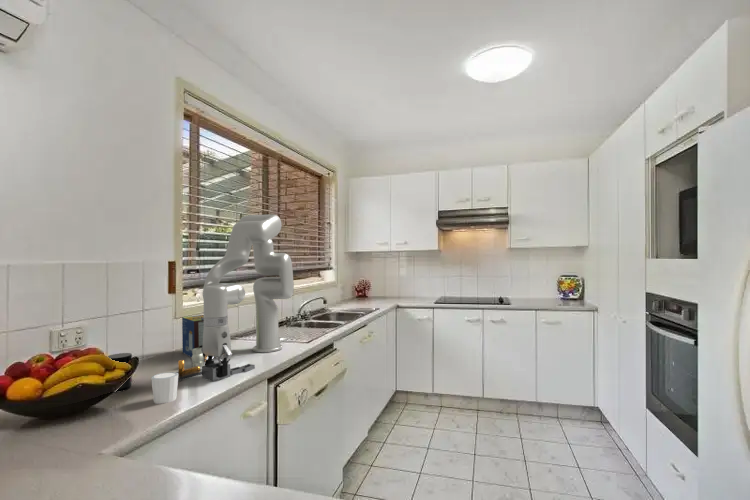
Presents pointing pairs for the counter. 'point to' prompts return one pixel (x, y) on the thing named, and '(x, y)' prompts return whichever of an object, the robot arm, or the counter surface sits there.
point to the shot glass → (164, 387)
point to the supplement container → (125, 358)
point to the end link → (212, 372)
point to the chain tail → (241, 369)
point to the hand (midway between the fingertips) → (216, 374)
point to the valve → (197, 357)
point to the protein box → (192, 333)
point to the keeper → (187, 371)
